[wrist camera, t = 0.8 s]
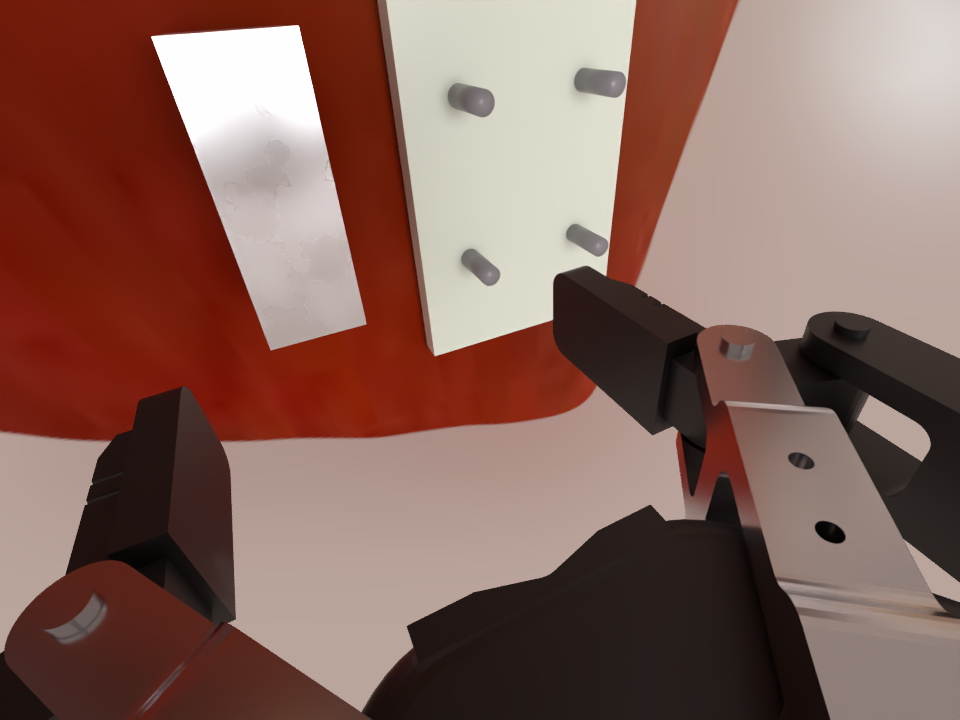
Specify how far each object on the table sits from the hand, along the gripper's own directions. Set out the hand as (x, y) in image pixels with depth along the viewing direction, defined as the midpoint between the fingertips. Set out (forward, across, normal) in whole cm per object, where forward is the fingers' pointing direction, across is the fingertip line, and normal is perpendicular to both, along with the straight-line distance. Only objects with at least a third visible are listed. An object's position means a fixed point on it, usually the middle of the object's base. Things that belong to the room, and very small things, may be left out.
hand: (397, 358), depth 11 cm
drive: (+19, +1, 0) cm, 19 cm away
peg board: (+19, -13, +2) cm, 23 cm away
